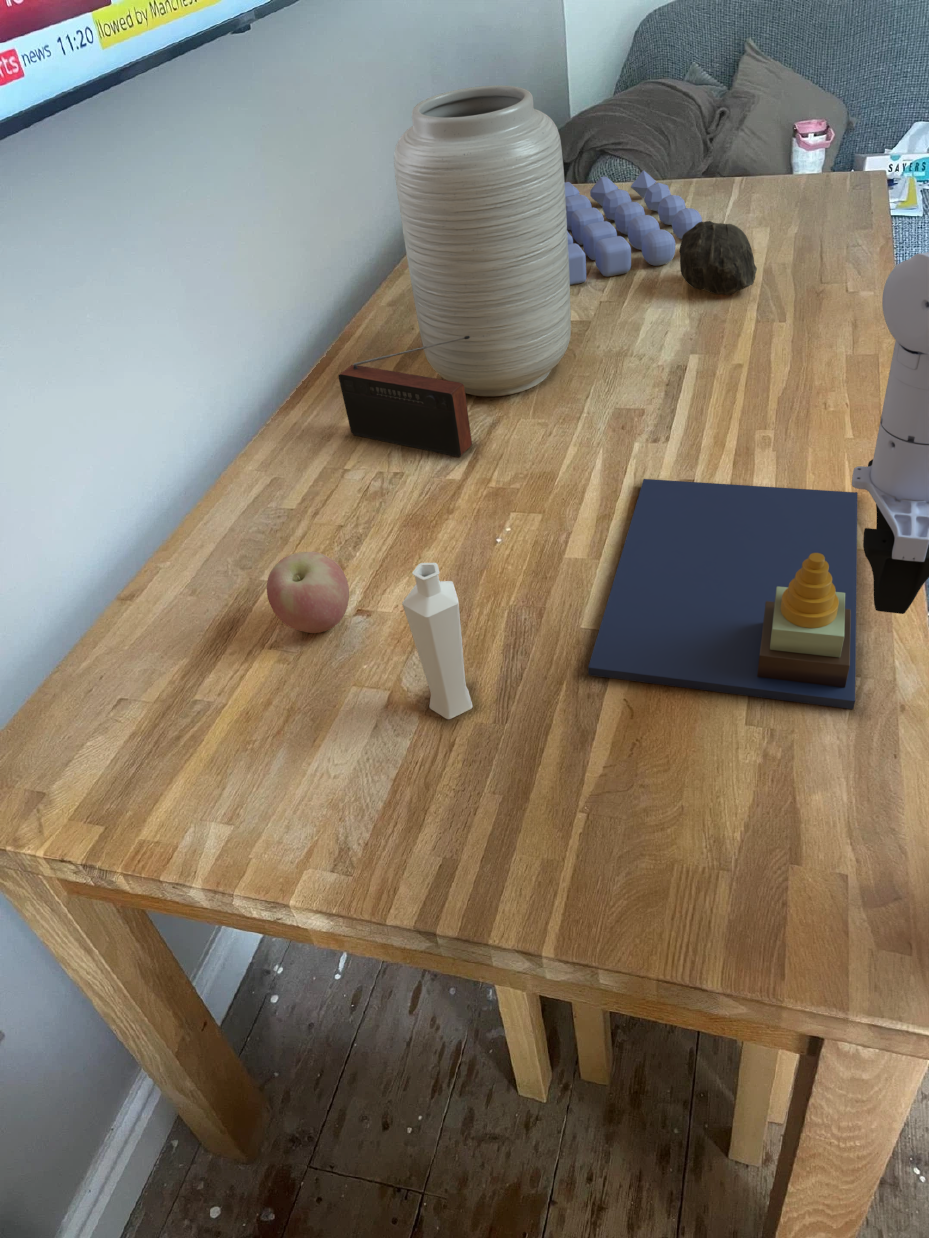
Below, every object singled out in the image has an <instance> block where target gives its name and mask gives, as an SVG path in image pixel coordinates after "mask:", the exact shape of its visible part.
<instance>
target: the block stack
mask: <svg viewBox="0 0 929 1238" xmlns="http://www.w3.org/2000/svg"><path fill="white" fill-rule="evenodd" d="M787 588H788V587H778V586H777V588H776V596H775V602H771V601H766V603H765V611H764V620H763V629H762V637H761V646H760V655H759V664H758V672H757V677H762V678H771V679H779V680H787V681H795V682H803V683H811V684H820V685H828V686H836V687H844V688H845V687H846V682H847V677H848V672H849V667H850V626H851V610H850V609H845V593H842V592H835V594H836V595H837V597H838V600H839V605H838V610H837V616H836V618H835V619H834V621H833V622H831V623H830V624H828V625H826V626H823V627H819V628H805V627H800V626H797V625H795V624H792V623H791V622H789V621H788V620H787V619H786V618H785V617H784V616H783V615H782V612H781V601H782V595H783V593H784V591H785V590H786V589H787Z"/></svg>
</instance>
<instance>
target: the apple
mask: <svg viewBox="0 0 929 1238" xmlns="http://www.w3.org/2000/svg"><path fill="white" fill-rule="evenodd" d="M266 596H267V600H268V603H269V605H270V608H271V610H272V611H273V613H274V614H275V616H276V617H277V618H278V619H279V620H280V621H281V622H282V623H283V624H285V625H286V626H288V627H289V628H290V629H294V630H296V631H300V632H305V633H308V634H309V633H310V634H320V633H323V632H327V631H329V630H331V629H333V628H334V627H336V626H337V625H338V624H339V623H340V622H341V621H342V619H343V617H344V616H345V613H347V612H346V611H347V609H348V607H349V606H348V605H349V600H350V586H349V581H348V579H347V576H346V573H345V572H344V570H343V569H342V567H341V566H340V565H339V564H338V563H337V562H336V561H335V560H334V559H332V558H331V557H329V556H328V555H325V554H324V553H321V552H319V551H298V552H294V553H292V554H289V555H287V556H285V557H283V558H282V559H280V560H279V561H277V563H276V564H275V565H274V566H273V567H272V568H271V570H270V572H269V574H268V577H267V580H266Z"/></svg>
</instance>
